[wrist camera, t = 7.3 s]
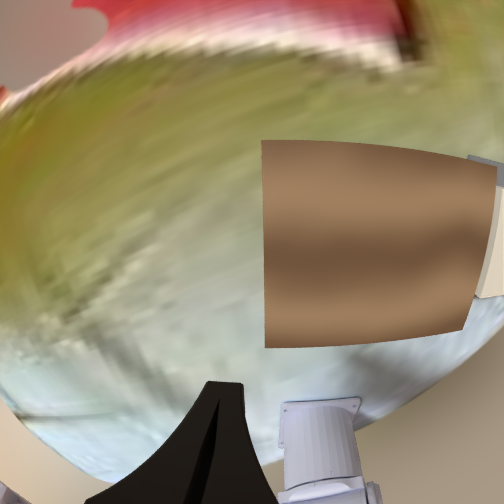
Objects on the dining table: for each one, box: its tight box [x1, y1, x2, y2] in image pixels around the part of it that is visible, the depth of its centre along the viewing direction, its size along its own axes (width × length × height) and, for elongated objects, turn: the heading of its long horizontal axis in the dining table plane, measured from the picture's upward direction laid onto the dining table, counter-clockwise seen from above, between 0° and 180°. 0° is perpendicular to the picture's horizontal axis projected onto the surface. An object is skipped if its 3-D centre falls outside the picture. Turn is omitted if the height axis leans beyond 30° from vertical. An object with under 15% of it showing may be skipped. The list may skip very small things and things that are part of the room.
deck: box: [261, 140, 497, 348], centre depth 16 cm, size 12×15×4 cm
